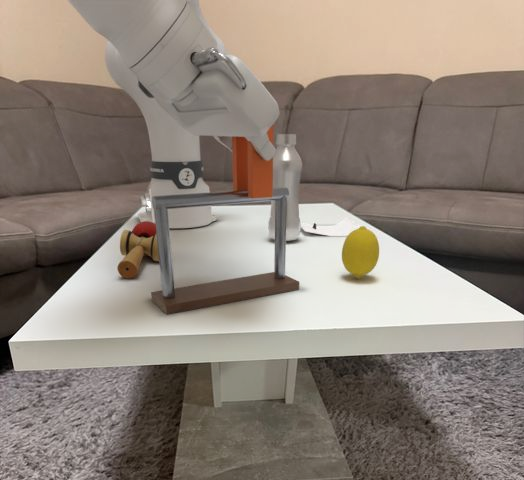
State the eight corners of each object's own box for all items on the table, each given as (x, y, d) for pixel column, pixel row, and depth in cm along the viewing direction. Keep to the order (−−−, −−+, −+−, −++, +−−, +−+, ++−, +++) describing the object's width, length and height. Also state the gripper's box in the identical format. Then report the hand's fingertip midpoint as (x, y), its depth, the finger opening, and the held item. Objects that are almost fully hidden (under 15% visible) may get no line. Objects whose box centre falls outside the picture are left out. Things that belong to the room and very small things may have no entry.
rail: (151, 300, 62) (139, 193, 56) (277, 278, 71) (279, 184, 65) (166, 314, 57) (155, 199, 51) (299, 289, 66) (303, 189, 60)
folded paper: (295, 226, 109) (296, 217, 108) (345, 225, 110) (346, 216, 109) (305, 236, 98) (305, 227, 97) (360, 235, 99) (361, 226, 98)
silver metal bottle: (298, 245, 91) (302, 134, 82) (265, 243, 92) (265, 134, 84) (302, 238, 97) (306, 134, 88) (270, 236, 98) (271, 133, 89)
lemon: (354, 285, 68) (359, 231, 64) (333, 276, 72) (336, 224, 68) (383, 280, 70) (390, 227, 66) (360, 271, 74) (365, 221, 71)
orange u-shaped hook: (233, 193, 61) (231, 117, 57) (252, 192, 63) (252, 117, 59) (252, 198, 57) (251, 116, 53) (272, 197, 58) (273, 116, 54)
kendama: (159, 286, 71) (176, 244, 86) (146, 248, 68) (166, 211, 83) (112, 294, 72) (136, 251, 87) (97, 257, 68) (125, 219, 83)
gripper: (238, 18, 41) (319, 136, 50) (164, 49, 57) (235, 135, 66) (195, 73, 41) (284, 182, 50) (133, 88, 57) (209, 169, 66)
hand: (256, 155), depth 58 cm, fingers closed on orange u-shaped hook, 5 cm apart
